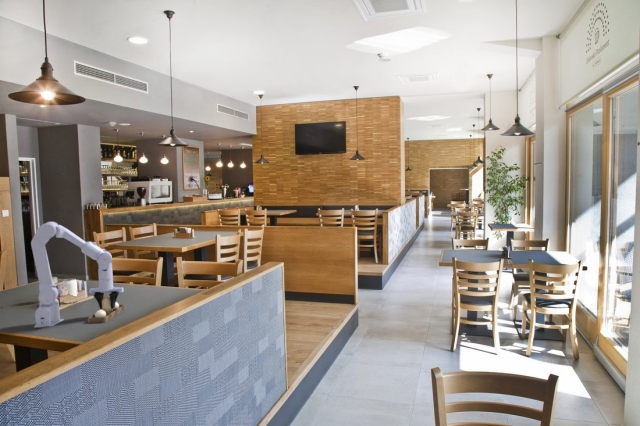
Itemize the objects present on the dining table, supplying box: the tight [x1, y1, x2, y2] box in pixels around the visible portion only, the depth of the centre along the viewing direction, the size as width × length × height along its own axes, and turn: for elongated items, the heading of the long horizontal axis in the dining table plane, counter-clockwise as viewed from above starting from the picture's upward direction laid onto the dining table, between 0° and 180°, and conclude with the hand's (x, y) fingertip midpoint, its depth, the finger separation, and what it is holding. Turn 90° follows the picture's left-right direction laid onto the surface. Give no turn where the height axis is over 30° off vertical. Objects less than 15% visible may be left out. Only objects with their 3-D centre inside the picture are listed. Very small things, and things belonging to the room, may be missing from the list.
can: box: [62, 277, 78, 296], centre depth 227 cm, size 6×6×12 cm
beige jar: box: [101, 295, 113, 313], centre depth 200 cm, size 4×4×7 cm
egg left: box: [94, 309, 106, 318], centre depth 193 cm, size 4×4×4 cm
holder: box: [87, 303, 127, 324], centre depth 200 cm, size 21×8×3 cm, turn 2°
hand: (107, 308), depth 200 cm, fingers closed on beige jar, 4 cm apart
